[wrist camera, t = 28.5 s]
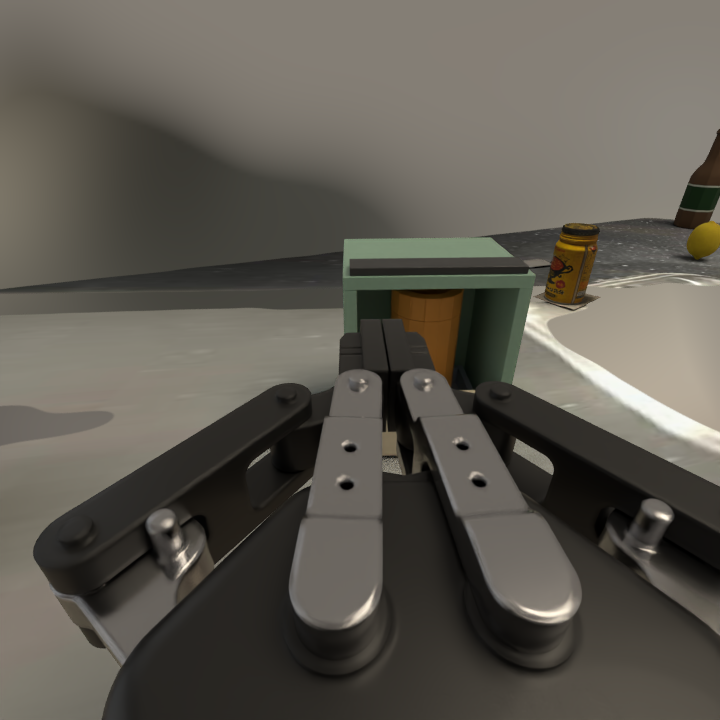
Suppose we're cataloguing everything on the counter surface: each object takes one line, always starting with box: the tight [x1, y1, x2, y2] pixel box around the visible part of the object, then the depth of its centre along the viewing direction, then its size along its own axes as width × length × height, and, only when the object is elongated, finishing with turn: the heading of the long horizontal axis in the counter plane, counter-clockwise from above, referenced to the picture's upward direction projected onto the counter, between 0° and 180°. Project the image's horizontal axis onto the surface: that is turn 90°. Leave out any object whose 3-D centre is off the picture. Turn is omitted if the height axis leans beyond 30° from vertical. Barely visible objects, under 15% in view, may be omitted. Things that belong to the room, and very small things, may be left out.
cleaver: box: [523, 259, 552, 268], centre depth 86 cm, size 13×1×5 cm
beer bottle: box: [674, 129, 720, 229], centre depth 109 cm, size 8×8×24 cm
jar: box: [390, 289, 464, 387], centre depth 38 cm, size 6×6×13 cm
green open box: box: [343, 238, 536, 390], centre depth 38 cm, size 14×11×17 cm
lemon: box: [687, 221, 720, 259], centre depth 86 cm, size 6×6×8 cm
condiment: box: [535, 223, 600, 310], centre depth 66 cm, size 7×8×12 cm
